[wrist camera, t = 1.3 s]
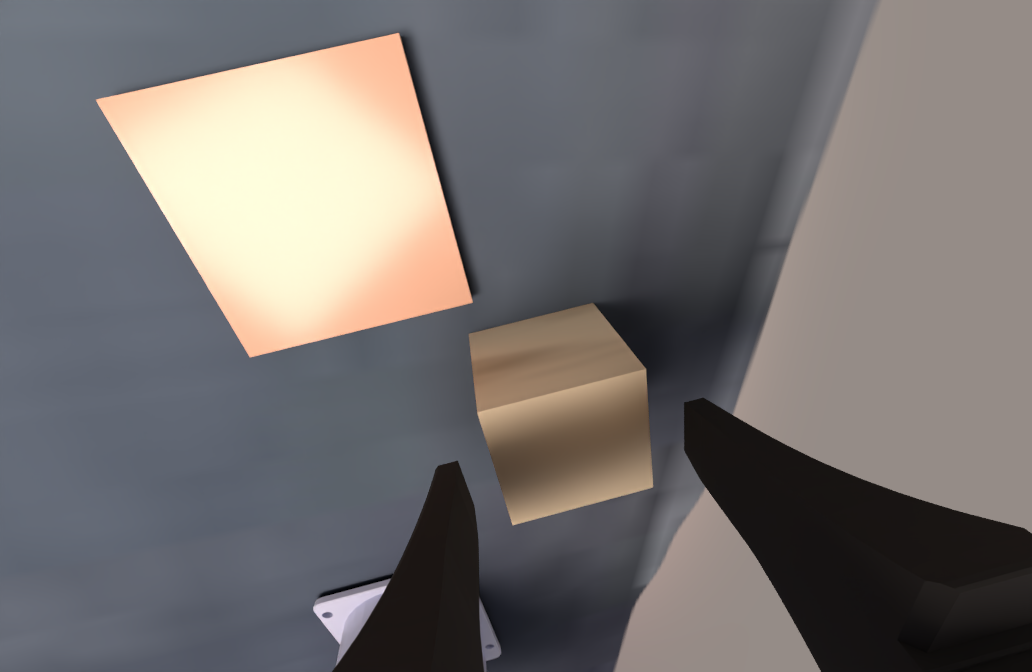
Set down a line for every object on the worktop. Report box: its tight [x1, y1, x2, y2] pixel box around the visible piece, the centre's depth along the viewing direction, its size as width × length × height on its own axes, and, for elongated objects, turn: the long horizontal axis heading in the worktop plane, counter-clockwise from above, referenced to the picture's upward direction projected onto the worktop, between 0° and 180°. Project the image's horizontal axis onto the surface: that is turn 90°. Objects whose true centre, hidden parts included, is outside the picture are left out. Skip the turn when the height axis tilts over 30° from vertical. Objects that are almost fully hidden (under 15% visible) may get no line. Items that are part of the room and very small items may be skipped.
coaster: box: [96, 33, 473, 357], centre depth 13 cm, size 8×8×1 cm
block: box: [469, 303, 653, 525], centre depth 15 cm, size 5×5×5 cm
